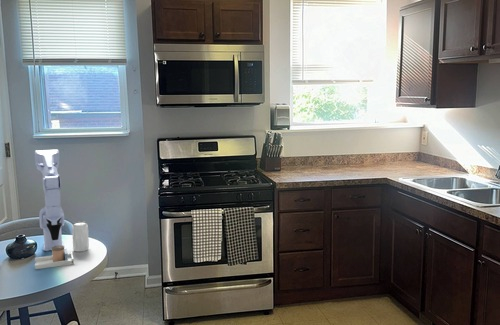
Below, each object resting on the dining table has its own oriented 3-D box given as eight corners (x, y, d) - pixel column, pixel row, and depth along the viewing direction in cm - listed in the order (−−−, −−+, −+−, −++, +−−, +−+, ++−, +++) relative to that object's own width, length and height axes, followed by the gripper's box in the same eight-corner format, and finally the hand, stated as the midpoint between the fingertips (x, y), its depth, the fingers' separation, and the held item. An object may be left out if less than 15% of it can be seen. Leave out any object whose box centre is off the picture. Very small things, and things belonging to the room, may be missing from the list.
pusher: (64, 257, 181) (64, 249, 180) (67, 257, 181) (66, 248, 180) (65, 262, 175) (64, 253, 175) (67, 262, 176) (67, 253, 175)
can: (70, 250, 190) (68, 224, 189) (81, 246, 196) (80, 220, 194) (80, 253, 187) (79, 226, 186) (92, 248, 193) (91, 222, 191)
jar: (53, 260, 178) (52, 246, 177) (65, 258, 180) (64, 244, 179) (52, 264, 174) (51, 249, 173) (64, 262, 176) (63, 248, 175)
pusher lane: (35, 261, 177) (35, 256, 177) (72, 256, 183) (72, 251, 183) (35, 269, 169) (34, 264, 169) (73, 263, 175) (73, 258, 175)
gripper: (42, 201, 182) (44, 233, 184) (42, 210, 169) (44, 243, 171) (60, 200, 185) (62, 231, 187) (61, 208, 172) (63, 241, 174)
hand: (54, 237), depth 179 cm, fingers open, 7 cm apart
